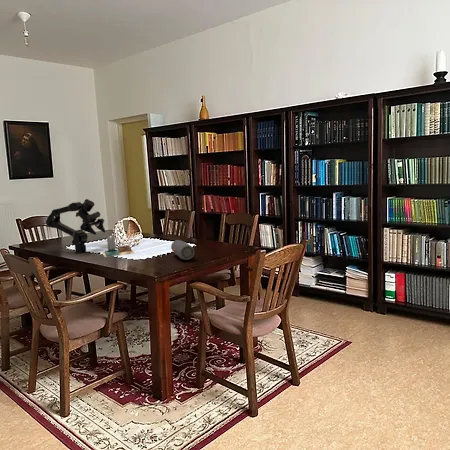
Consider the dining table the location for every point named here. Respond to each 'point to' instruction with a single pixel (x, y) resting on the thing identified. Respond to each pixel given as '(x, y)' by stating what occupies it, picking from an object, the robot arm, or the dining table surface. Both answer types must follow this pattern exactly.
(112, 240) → the pin
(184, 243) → the bluetooth speaker
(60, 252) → the dining table surface
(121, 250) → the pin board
